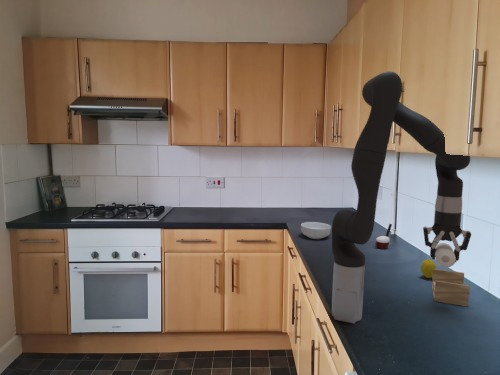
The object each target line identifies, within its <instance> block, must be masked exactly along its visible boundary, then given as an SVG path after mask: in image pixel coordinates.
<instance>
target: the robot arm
mask: <svg viewBox="0 0 500 375" xmlns="http://www.w3.org/2000/svg"><path fill="white" fill-rule="evenodd" d="M361 92H362V93H361V94H362V95H361V96H362V98H363V100H364V102H365V104H367V105H368V106H369V107H370V113H369V117H368V119H367V121H366V124H364V127H363V129H362V130H361V132H360V135H359V137H358V139H357V141H356V143H355V145H354V149H353V154H352V161H351V166H350V167H351V174H352V177H353V180H354V183H355V186H356V189H357V197H358V200H357V207H356V211H355V210H351V209H340V210H339V211H337V212H336V213H335V215H334V217H333V220H332V223H331V251H332V255H333V269H332V270H333V272H332V273H333V275H332V276H333V277H332V291H331V292H332V293H331V316H332V317H333V320H335V321H339V322H344V323H350V324H356V323H357V322H359V321H361V320H362V318H363V308H364V307H363V305H364V304H363V302H364V286H365V269H366V268H365V267H366V255H365V254H364V253H363V252H362V251H361V250H360V249H359V248H358V247H357V245H361V246H362V245H365V244H367V243H368V242H369V241H370V239H371V238H372V235H373V231H374V227H375V221H376V220H375V219H376V211H377V203H378V195H379V190H380V189H379V188H380V184H381V178H382V174H383V170H384V166H385V163H386V158H387V157H386V156H387V150H388V147H389V146H388V145H389V141H390V137H391V133H392V132H391V131H392V127H393V123H394V124H395V125H397V126H398V127H400V128H401V129H402V130H403V131H405V133H407V134H408V135H410V137H411V138H412V139H414V140H415V141H416V143H418V145H420V146H421V147H422V148H423V149H424V150H426V151H427V152H429V153H433V154H435V160H434V166H435V167H434V168H435V172H436V173H435V174H436V178H437V190H436V191H437V192H436V199H435V204H434V220H433V225H432V226H430V227H429V226H428V227H427V226H423V228H422V230H423V237H424V245H425V246H426V247H429V248H430V250H429V257H430V258H431V259H432V260H433V261H434V260H435V261H436V258H435V252H436V248H435V247H436V245H437V244H439V243H440V241H446V242H452V244H453V246H454V249H453V252H454V254H455V257H456V262H458V261H459V260H460V253H461V251H467V249H468V246H469V243H470V240H471V237H472V233H471V231H470V230H463V229H462V228H461V224H462V215H463V214H462V213H463V211H462V210H463V190H464V189H463V188H464V181H463V179H462V178H461V177H459V176H458V171H461V170H464V169H466V168H468V166H469V165H470V162H471V155H470V156H463V155H450V154H446V152H445V137H444V134H445V133H444V132H443V131H442V130H441V129H440V128H439V127H438V126H437V125H436V124H435V123H434V122H433V121H432V120H430V119H429V118H428V117H426V116H425V115H422V114H420V113H418V112H417V111H414V110H412V109H411V108H409V107H407V106H406V105H404V104H403V103H402V102H401V101H400V100H401V97H402V93H403V81H402V78H401V77H400V76H399V74H398V73H396V72H394V71H391V70H390V71H384V72H381V73H379V74H377V75H376V76H374V77H371V79H369V80H367V81H366V82H365V84H364V85H363V87H362V90H361ZM443 133H444V134H443ZM431 232H433V233H434V235H435V236H434V237H433V240H432V241H430V238H429V234H431ZM461 234H462V237H463V241H462V244H461V245H459V243H458V241H457V238H458V237H459V236H460V235H461ZM356 244H357V245H356Z"/></svg>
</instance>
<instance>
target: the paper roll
mask: <svg viewBox="0 0 500 375" xmlns="http://www.w3.org/2000/svg"><path fill="white" fill-rule="evenodd" d="M435 248H436V252H435V262H436V263H437V264H438V266H440V267H442V268H451V267H453V266H454V265H455V264H456V263H457V261H456V257H455V254H454V249H453V248H452V246H451V245H450V243H447V242H439V243H438V244H437V245H436V247H435Z"/></svg>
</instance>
